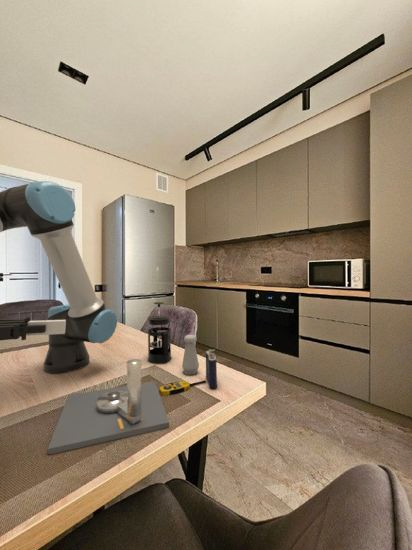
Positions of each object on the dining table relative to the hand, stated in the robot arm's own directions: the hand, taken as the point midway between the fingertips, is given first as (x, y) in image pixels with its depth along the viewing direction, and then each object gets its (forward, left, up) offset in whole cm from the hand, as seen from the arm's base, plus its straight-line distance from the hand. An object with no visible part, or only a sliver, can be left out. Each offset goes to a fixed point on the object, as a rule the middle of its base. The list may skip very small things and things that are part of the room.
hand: (64, 326), depth 53 cm
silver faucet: (-4, +11, -23) cm, 26 cm away
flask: (-13, +38, -24) cm, 47 cm away
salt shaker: (-23, +34, -24) cm, 48 cm away
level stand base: (-8, +9, -24) cm, 27 cm away
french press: (-39, +26, -24) cm, 53 cm away
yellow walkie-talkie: (-13, +29, -25) cm, 40 cm away
